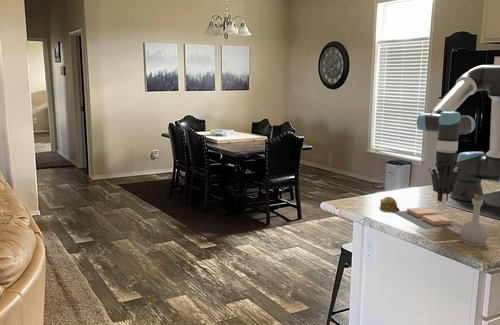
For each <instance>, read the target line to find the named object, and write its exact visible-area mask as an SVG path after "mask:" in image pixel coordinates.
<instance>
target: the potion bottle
mask: <svg viewBox="0 0 500 325" xmlns="http://www.w3.org/2000/svg"><path fill="white" fill-rule="evenodd" d="M483 203H484V200H482V196H480V195H477V194H474V199H472V202H471V204H472V205H473V210H472V218H471V221H466V222H465V223H464V224H462V225H463V227H461V228H460V231H459V232H460V238H461V239H462V243H463V244H465V245H468V246H471V247H483V246H484V243H486V242H487V239H488V230H487V228H486V225H485V224H484V223H481V222H480V216H481V215H480V213H481V206H483Z"/></svg>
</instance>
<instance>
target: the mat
mask: <svg viewBox="0 0 500 325" xmlns="http://www.w3.org/2000/svg"><path fill="white" fill-rule="evenodd" d="M392 213H393V214H395V215H396V216H399V217H400V218H403V219H405V221H408V222H410V223H412V224H414V225H416V226H418V227H419V228H421V229H424V230H429V229H431V230H432V229H443V228H444V229H446V228H448V229H449V228H462V227H463V225H464V224H461V223H460V222H456V221H454V220H452V223H451V224H445V225H432V224H430V223H428V222H426V221H424V220H422V217H416V216H414V215H412V214H410V213H408V212H407V210H403V211H402V210H401V211H400V210H399V211H396V212H392ZM434 213H435V215H440V214H439V213H437V212H434ZM444 217H445V216H444ZM445 218H447V217H445Z"/></svg>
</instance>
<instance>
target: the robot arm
mask: <svg viewBox="0 0 500 325" xmlns="http://www.w3.org/2000/svg"><path fill="white" fill-rule="evenodd" d="M479 91H484V92H488V95H487V96H488V97H489V98H490V99H491V107H490V108H491V112H490V131H489V132H490V135H489V150H488V151H487V152H486V153H485V152H484V151H464V152H463V151H462V152H460V153H457V152H458V150H459V149H458V148H459V136H461V135H464V136H465V135H467V134H470V133H472V132H473V131H474V130H475V129H476V121H475V119H474V118H473V117H472V116H469V115H461V113H460V112H459V111H457V109H458V108H459V107H460V106H461V105H462V104H463V102H465V101H466V99H467V98H468V97H469V96H472V95H474V94H475V93H476V92H479ZM416 126H417V129H418V130H420V131H424V132H426V133H427V132H429V133H431V132H432V133H437V142H436V154H435V160H436V163H435V164H434V167H432V168H431V167H430V168H429V170H428V171H429V173H430V175H431V177H430V178H431V183H432V190H433V192H435V193H437V196H436V197H437V198H436V200H437V202H438V204H437V209H439V210H442V211H445V210H446V206H447V202H448V198H451V199H453V200H456V199H458V200H457V201H461V200H463V201H462V202H468V201H472V199H474V194H477V195H480V196H482V200H483V201H484V199H485V195H484V194H485V193H484V191H483V187H482V181H487V182H494V183H498V184H500V64H481V65H477V66H475V67H473V68H471V69H469V70H468V71H466V72H464V73H462V74H461V75H460V76H459V77H458V78H457V79H456V81H455V85H454V86H453V87H451V89H450V90H449V91H448V92H447V93H446V94H445V95H444V96H443V98H441V99H440V100H439V102H438V103H437V104H436V105H435V106H434V107H433V108H432V109H431V110H430V111H429V112H428V113H427V112H424V113H423V112H422V113H419V115H418V116H417V118H416Z"/></svg>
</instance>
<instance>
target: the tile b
mask: <svg viewBox="0 0 500 325" xmlns="http://www.w3.org/2000/svg"><path fill="white" fill-rule="evenodd" d="M422 220H424V221H426V222H428V223H430V224H432V225H445V224H451V223H452V221H453V219H450V218H448V217H446V218H445V216H443V215H441V214H439V215H426V216H422Z"/></svg>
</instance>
